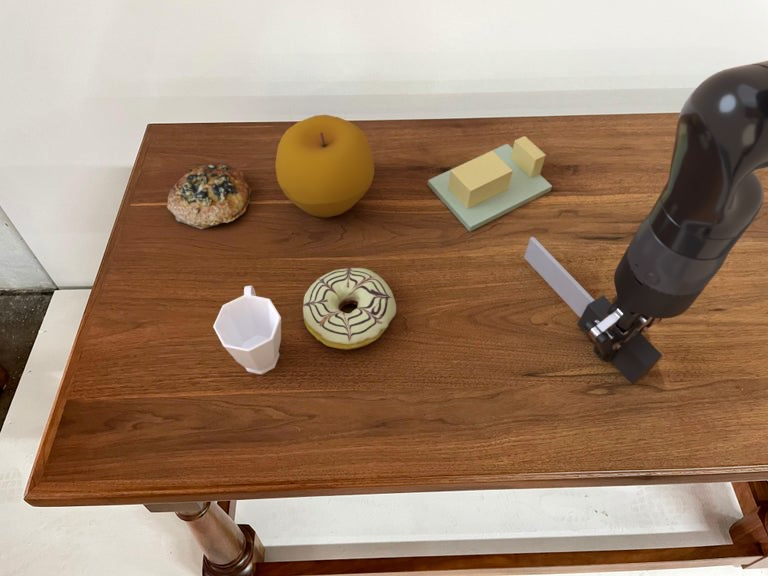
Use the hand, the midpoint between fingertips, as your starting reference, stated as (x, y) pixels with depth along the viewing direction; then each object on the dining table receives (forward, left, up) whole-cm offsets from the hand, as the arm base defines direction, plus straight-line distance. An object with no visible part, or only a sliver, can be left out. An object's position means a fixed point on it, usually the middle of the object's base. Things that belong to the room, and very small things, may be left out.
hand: (611, 348), depth 69 cm
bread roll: (+46, +30, -1) cm, 55 cm away
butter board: (+28, -4, -1) cm, 28 cm away
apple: (+38, +16, -1) cm, 41 cm away
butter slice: (+28, -10, 0) cm, 30 cm away
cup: (+22, +34, -1) cm, 41 cm away
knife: (+6, 0, 0) cm, 6 cm away
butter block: (+28, -2, 0) cm, 28 cm away
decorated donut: (+20, +23, -1) cm, 31 cm away
